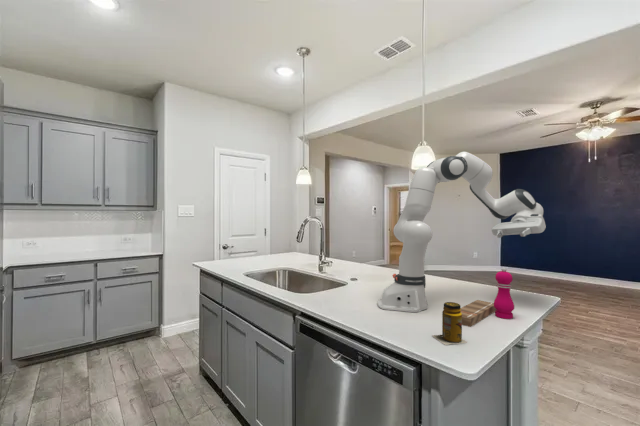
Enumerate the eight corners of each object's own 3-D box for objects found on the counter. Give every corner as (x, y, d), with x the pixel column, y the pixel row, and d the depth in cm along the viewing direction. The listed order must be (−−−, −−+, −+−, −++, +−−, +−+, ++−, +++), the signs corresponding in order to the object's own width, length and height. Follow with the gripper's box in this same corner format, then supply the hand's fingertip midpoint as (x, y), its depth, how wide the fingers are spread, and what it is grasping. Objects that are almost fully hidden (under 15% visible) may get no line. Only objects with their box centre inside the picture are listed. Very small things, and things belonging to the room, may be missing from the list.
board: (470, 327, 113) (470, 318, 113) (449, 321, 118) (449, 313, 118) (496, 310, 131) (496, 303, 131) (477, 306, 137) (477, 299, 137)
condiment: (467, 342, 99) (467, 306, 99) (445, 345, 97) (445, 308, 97) (453, 334, 106) (453, 300, 106) (431, 336, 104) (431, 301, 104)
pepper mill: (489, 313, 127) (489, 266, 127) (506, 313, 128) (506, 265, 128) (501, 319, 120) (501, 269, 120) (518, 319, 121) (518, 269, 121)
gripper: (497, 218, 147) (483, 230, 139) (546, 213, 130) (534, 227, 122) (501, 230, 147) (488, 243, 140) (550, 227, 130) (538, 241, 123)
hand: (510, 235), depth 131 cm, fingers open, 8 cm apart
